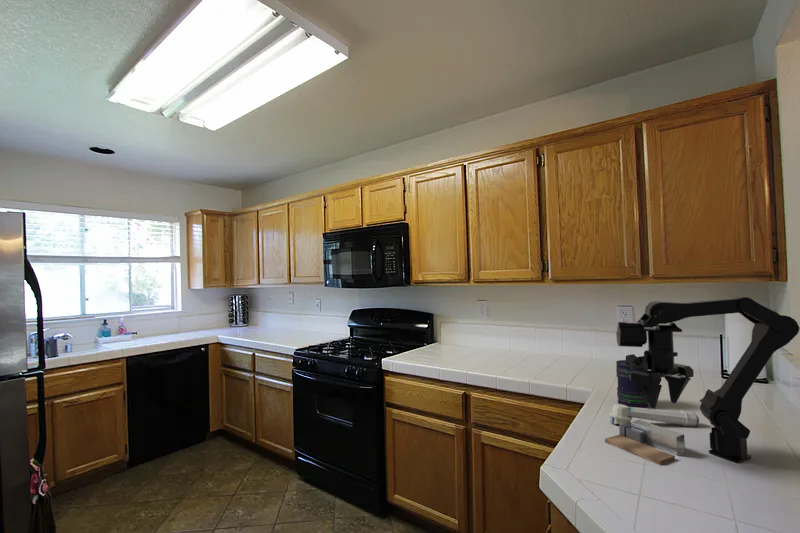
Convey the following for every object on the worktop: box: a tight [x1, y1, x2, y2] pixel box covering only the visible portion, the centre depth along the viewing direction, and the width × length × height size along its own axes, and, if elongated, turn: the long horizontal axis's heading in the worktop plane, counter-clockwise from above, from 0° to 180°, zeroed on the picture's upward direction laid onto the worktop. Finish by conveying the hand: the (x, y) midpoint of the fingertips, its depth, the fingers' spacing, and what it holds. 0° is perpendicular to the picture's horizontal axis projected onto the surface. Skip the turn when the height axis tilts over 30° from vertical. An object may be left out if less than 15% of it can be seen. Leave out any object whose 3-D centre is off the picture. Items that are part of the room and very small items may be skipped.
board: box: [604, 434, 676, 466], centre depth 103 cm, size 15×6×1 cm, turn 25°
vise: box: [618, 422, 646, 445], centre depth 110 cm, size 6×9×4 cm
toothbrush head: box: [608, 403, 700, 427], centre depth 120 cm, size 5×7×25 cm
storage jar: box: [615, 359, 650, 409], centre depth 140 cm, size 10×10×15 cm
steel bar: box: [630, 419, 686, 457], centre depth 105 cm, size 12×4×5 cm, turn 26°
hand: (663, 405), depth 104 cm, fingers open, 9 cm apart
